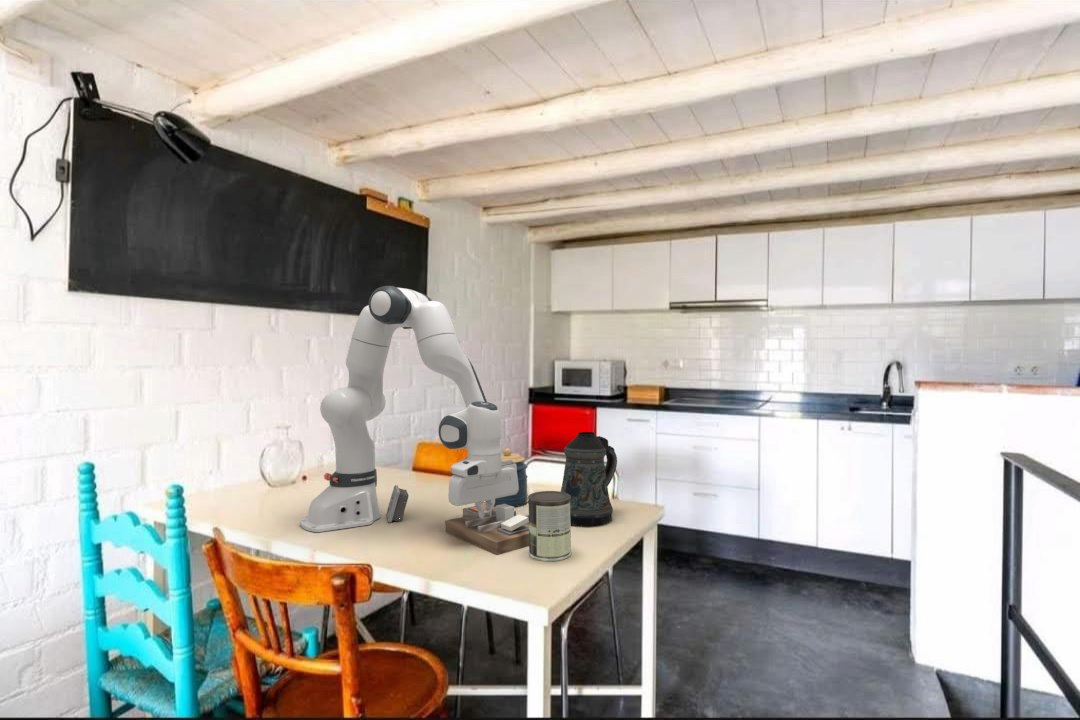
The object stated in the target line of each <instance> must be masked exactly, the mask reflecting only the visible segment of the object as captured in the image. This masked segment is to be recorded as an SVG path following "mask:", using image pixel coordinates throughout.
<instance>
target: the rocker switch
mask: <svg viewBox="0 0 1080 720" xmlns="http://www.w3.org/2000/svg"><path fill="white" fill-rule="evenodd" d="M528 522H529V519H528V517H525V516H523V515H522V514H519V513H518V514H516V516H514V517H512V518H510V519H508V520H506V521H504V522H503V523H501V528H503V529H506V530H509V531H513V530H515V529H517V528H518V527H520V526H522V525H524V524H526V523H528Z"/></svg>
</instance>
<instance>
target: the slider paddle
mask: <svg viewBox="0 0 1080 720" xmlns="http://www.w3.org/2000/svg"><path fill="white" fill-rule="evenodd" d="M495 507H496V521H502V520H506V519H510V518H512V517H514V510H515V507H513V506H510V505H507V504H502V505H497V506H495Z"/></svg>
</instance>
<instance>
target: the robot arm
mask: <svg viewBox="0 0 1080 720" xmlns="http://www.w3.org/2000/svg"><path fill="white" fill-rule="evenodd" d="M399 328H403V329H404V330H409V329H412V330H413V333H414V335H415V340H416V344H417V348H418V353H419V356H420V359H421V361H422V362H423V364H424V365H425V366H426V367H427V369H429V370H431V371H432V372H435V373H438V374H440V375H443V376H445V377H447V378H448V379H451V381H453V382H454V383H455V384H456V385H457V387H458V389H459V391H460V394H461V396H462V400H463V401H464V404H465V408H464V409H462V410H460V411H457V412H454V413H451V414H448V415H445V416H444V417H443V418H442V419H441V420H440V423H439V424H438V425H439V426H438V436H439V440H440V442H441V444H442V445H443V446H444V447H445V448H446V449H450V450H460V449H466V450H467V456H466V457H465V458H463V459H461V460H460V461H458V462H455V463H453V464H452V465H451V466H450V473H452V475H451V476H450V479H449V482H448V502H449V503H450V504H451V505H453V506H456V507H460V506H461V507H462V506H468V505H471V504H474V506H476V507H477V509H478V510H479V517H480V518H484V517H489V516H491V515H492V508H493V507H495V506H494V504H495V499H496V498H501V497H505V496H510V495H515V494H517V492H518V490H519V485H518V477H517V465H516V463H515V462H513V461H512V460H508V461H502V454H503V453H502V448H501V441H502V418H501V413H500V409H499V407H498V406H497V405H496V404H494V403H492V402H488V401H487V399H486V395H485V393H484V390H483V387H482V385H481V382H480V380H479V377H478V375H477V372H476V370H475V367H474V366H473V364H472V362H471V360H470V359H469V358H468V357H467V356H466V355H465V353H464V351H463V348H462V346H461V344H460V342H459V338H458V336H457V331H456V329H455V326H454V323H453V320H452V317H451V316H450V313H449V311H448V309H447V307H446V305H445V304H443V303H442V302H440V301H437V300H432V298H430V296H428V295H427V294H426V293H422V292H418V291H416V290H413V289H410V288H406V287H405V288H403V287H396V286H394V285H385V286H379V287H378V288H376V289H375V290H374V291H373V292H372V293H371V295H370V297H369V300H368V305H366V306H364V307H363V308H362V310H361V311H360V313H359V315H358V318H357V320H356V322H355V325H354V329H353V331H352V335H351V337H350V338H351V339H350V343H349V347H348V350H347V355H346V358H345V365H346V368H347V370H348V371H347V372H348V384H347V387H339V388H337V389H334V390H332V391H331V392H329V393H327V394H326V395H325V396H324V397H323V398H322V401H321V402H320V415H321V416H322V419H323V420H324V421H325V422H326V423H327V424H328V426H329V427H330V432H331V434H332V437H333V441H334V448H335V449H334V450H335V471H334V472H333V473H332V474H331V473H329V472H325V473H324V474H323V479H324V480H325V481H329V485H328V486H327V487H326V488H325V489H324V490H323V491H322V492H320V493H319V494H318V495H317V496H315V497H314V498H313V499H312V500H311V502H310V503H309V506H308V514H307V517H306V516H305V517H303V518H301V519H300V521H299V522H300V523H299V526H300V527H301V528H303V529H304V530H306V531H308V532H313V533H323V532H329V531H335V530H343V529H349V528H355V527H362V526H368V525H372V524H374V522H375V521H376V520H378V519H379V518H381V517H382V513H381V509H380V505H379V502H378V495H377V485H378V483H377V482H378V475H377V474H378V473H377V468H376V457H375V455H376V450H375V449H376V447H375V442H374V439H372V437H371V435H370V433H369V430H368V427H367V422H369V421H371V420H374V419H375V418H376V417H378V416H379V415H380V414H381V413H382V412H383V411H384V409H385V407H386V402H387V401H386V397H385V394H384V372H385V367H386V362H387V359H388V355H389V351H390V346H391V343H392V339H393V334H394V333H395V332H396V330H398V329H399ZM512 463H514V464H512ZM484 502H487V503H486V504H487V506H486V509H483V507H482V505H484V504H485V503H484Z"/></svg>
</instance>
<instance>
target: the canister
mask: <svg viewBox="0 0 1080 720" xmlns="http://www.w3.org/2000/svg"><path fill="white" fill-rule="evenodd" d="M508 460H512V461H513V462H515V463H516V465H517V477H518V485H519V490H518V492H517V494H515V495H510V496H505V497H501V498H496V499H495V504H494V506H493V507H496V506H497V505H502V504H507V505H510V506H513V507H514V508H517V507H520V506H524V505H526V504H527V503H528V496H529V494H528V475H527V471H526V470H527V469H528V465H527V464H526V463H525V460H526V459H525V457H523V456H522V455H521V454H519V453H514V452H513V453H512V450H511V449H510V448H508V447H507V448H504V449H503V453H502V461H508ZM512 464H514V463H512Z"/></svg>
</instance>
